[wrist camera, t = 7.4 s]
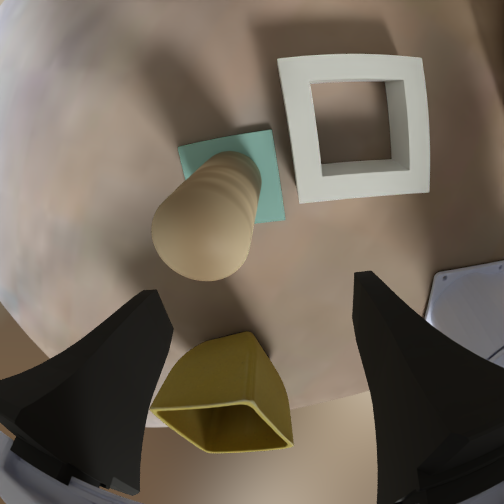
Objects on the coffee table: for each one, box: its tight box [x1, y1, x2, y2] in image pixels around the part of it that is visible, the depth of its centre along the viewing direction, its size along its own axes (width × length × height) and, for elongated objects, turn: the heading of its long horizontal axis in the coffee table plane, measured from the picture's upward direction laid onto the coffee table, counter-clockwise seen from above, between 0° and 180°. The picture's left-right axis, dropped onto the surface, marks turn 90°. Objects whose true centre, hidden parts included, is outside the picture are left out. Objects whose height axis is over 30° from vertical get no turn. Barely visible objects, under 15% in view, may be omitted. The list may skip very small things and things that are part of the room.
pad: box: [178, 129, 285, 224], centre depth 18 cm, size 6×6×1 cm
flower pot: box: [149, 331, 294, 453], centre depth 23 cm, size 9×9×9 cm
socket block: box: [277, 54, 430, 204], centre depth 14 cm, size 8×8×3 cm
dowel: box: [151, 151, 262, 281], centre depth 15 cm, size 4×4×8 cm
